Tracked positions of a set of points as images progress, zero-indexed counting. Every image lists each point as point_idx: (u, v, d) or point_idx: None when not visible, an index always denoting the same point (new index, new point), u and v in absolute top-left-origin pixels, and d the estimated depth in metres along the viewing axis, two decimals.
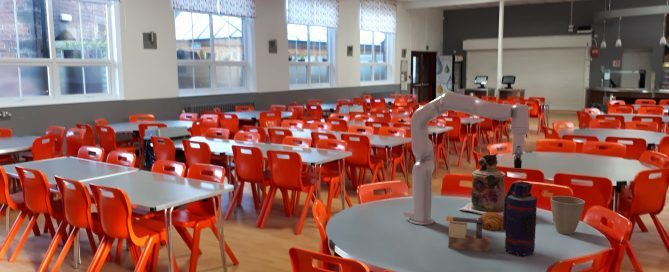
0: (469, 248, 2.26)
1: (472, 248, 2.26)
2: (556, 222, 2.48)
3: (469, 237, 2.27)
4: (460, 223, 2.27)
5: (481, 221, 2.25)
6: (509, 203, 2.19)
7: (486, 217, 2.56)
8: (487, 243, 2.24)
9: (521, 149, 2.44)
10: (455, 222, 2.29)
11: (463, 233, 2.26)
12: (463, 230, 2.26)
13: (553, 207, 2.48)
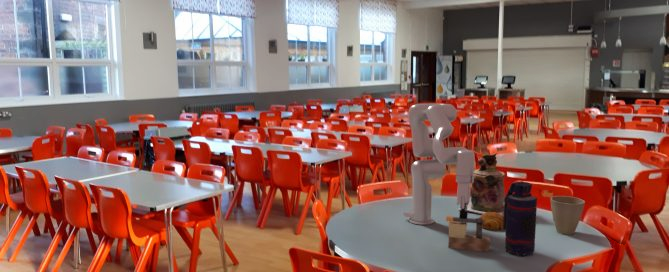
0: (469, 248, 2.26)
1: (472, 248, 2.26)
2: (556, 222, 2.48)
3: (469, 237, 2.27)
4: (460, 223, 2.27)
5: (481, 221, 2.25)
6: (509, 203, 2.19)
7: (486, 217, 2.56)
8: (487, 243, 2.24)
9: (466, 199, 2.24)
10: (455, 222, 2.29)
11: (463, 233, 2.26)
12: (463, 230, 2.26)
13: (553, 207, 2.48)
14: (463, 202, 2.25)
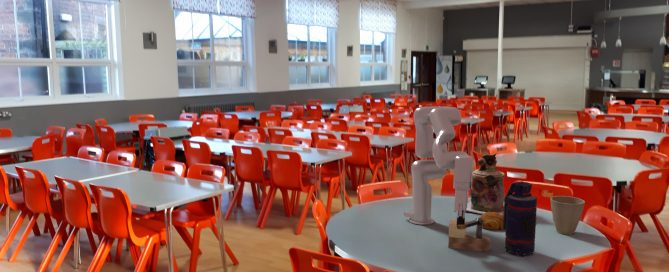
0: (469, 248, 2.26)
1: (472, 248, 2.26)
2: (556, 222, 2.48)
3: (469, 237, 2.27)
4: None
5: (482, 220, 2.26)
6: (509, 203, 2.19)
7: (486, 217, 2.57)
8: (487, 243, 2.24)
9: (463, 207, 2.16)
10: (455, 222, 2.29)
11: (463, 233, 2.26)
12: (463, 230, 2.26)
13: (553, 207, 2.48)
14: (460, 209, 2.17)
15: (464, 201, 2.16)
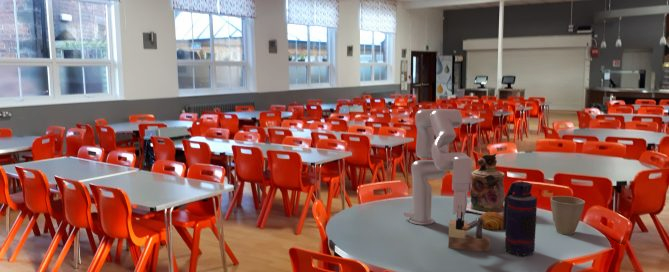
0: (469, 248, 2.26)
1: (472, 248, 2.26)
2: (556, 222, 2.48)
3: (469, 237, 2.27)
4: None
5: None
6: (509, 203, 2.19)
7: (486, 217, 2.57)
8: (487, 243, 2.24)
9: (462, 208, 2.12)
10: (455, 222, 2.29)
11: (463, 233, 2.26)
12: (463, 230, 2.26)
13: (553, 207, 2.48)
14: (459, 211, 2.13)
15: (463, 203, 2.12)
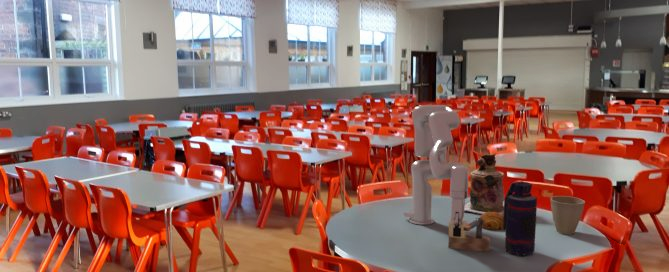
0: (469, 248, 2.26)
1: (472, 248, 2.26)
2: (556, 222, 2.48)
3: (469, 237, 2.27)
4: None
5: None
6: (509, 203, 2.19)
7: (486, 217, 2.57)
8: (487, 243, 2.24)
9: (460, 215, 2.23)
10: None
11: (463, 233, 2.26)
12: (463, 230, 2.26)
13: (553, 207, 2.48)
14: None
15: (460, 210, 2.23)
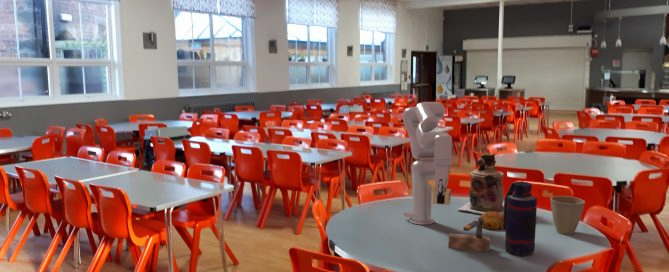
0: (469, 248, 2.26)
1: (472, 248, 2.26)
2: (556, 222, 2.48)
3: (469, 237, 2.27)
4: (444, 190, 2.34)
5: None
6: (509, 203, 2.19)
7: (486, 216, 2.57)
8: (487, 243, 2.24)
9: (443, 182, 2.30)
10: None
11: (447, 200, 2.32)
12: (447, 197, 2.32)
13: (553, 207, 2.48)
14: None
15: (444, 177, 2.30)
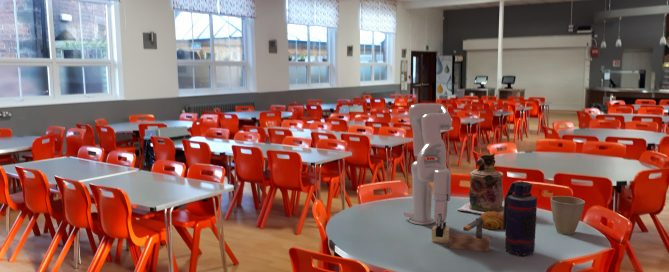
0: (469, 248, 2.26)
1: (472, 248, 2.26)
2: (556, 222, 2.48)
3: (469, 237, 2.27)
4: (443, 229, 2.36)
5: None
6: (509, 203, 2.19)
7: (486, 216, 2.57)
8: (487, 243, 2.24)
9: (442, 217, 2.32)
10: None
11: (445, 238, 2.35)
12: (446, 235, 2.35)
13: (553, 207, 2.48)
14: None
15: (443, 212, 2.32)
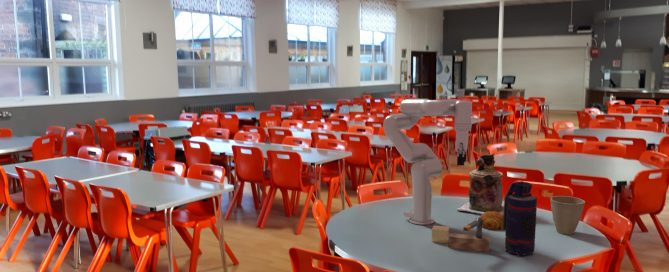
0: (469, 248, 2.26)
1: (472, 248, 2.26)
2: (556, 222, 2.48)
3: (469, 237, 2.27)
4: (443, 229, 2.36)
5: None
6: (509, 203, 2.19)
7: (486, 216, 2.58)
8: (487, 243, 2.24)
9: (464, 146, 2.40)
10: (438, 228, 2.38)
11: (445, 238, 2.35)
12: (446, 236, 2.35)
13: (553, 207, 2.48)
14: None
15: (464, 141, 2.40)
